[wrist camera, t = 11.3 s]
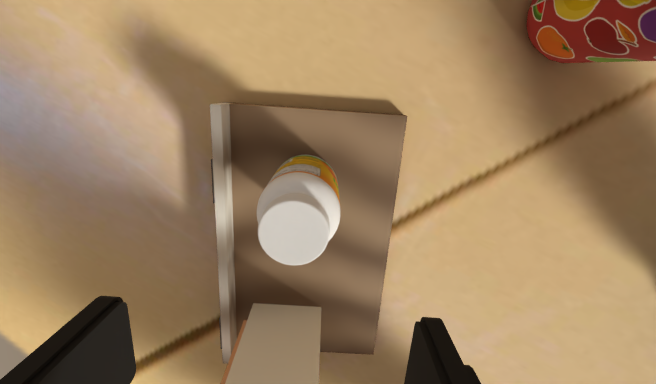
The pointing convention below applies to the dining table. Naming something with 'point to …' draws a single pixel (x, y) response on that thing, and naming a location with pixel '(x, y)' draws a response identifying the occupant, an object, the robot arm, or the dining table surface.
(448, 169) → the dining table surface
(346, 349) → the thin taupe panel
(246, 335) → the carton
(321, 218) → the supplement bottle
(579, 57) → the smoothie
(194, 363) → the dining table surface
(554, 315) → the dining table surface
